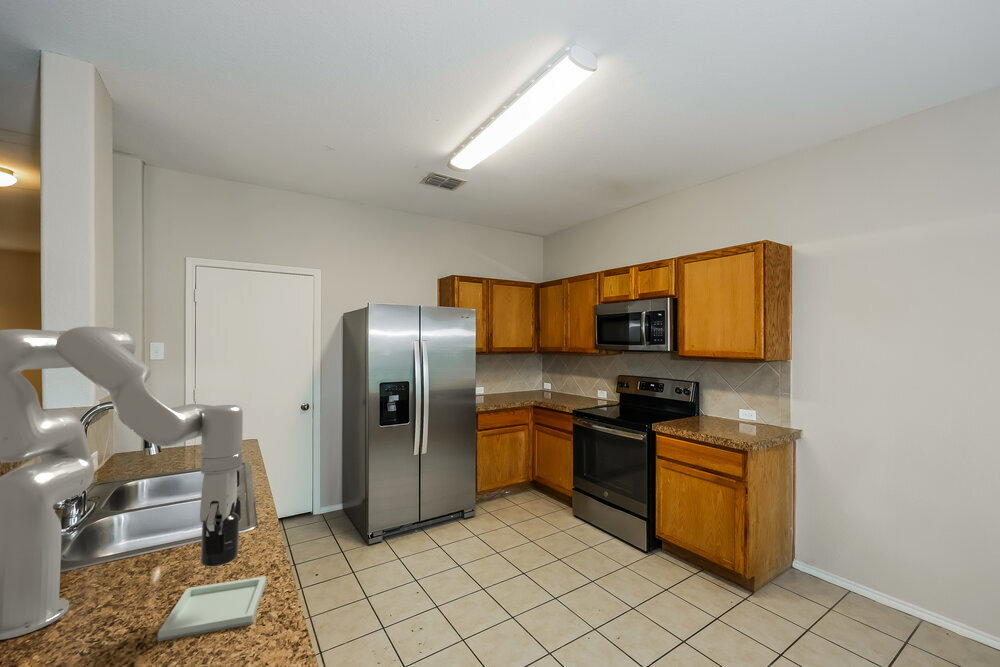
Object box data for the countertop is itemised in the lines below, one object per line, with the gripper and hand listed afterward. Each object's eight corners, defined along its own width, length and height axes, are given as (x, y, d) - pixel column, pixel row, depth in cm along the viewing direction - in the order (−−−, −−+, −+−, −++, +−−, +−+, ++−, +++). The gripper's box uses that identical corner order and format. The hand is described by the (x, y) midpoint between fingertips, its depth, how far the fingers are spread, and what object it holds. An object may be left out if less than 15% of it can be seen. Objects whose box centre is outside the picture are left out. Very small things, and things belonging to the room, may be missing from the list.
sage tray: (157, 641, 83) (158, 632, 83) (186, 596, 98) (187, 588, 98) (252, 624, 88) (252, 615, 89) (266, 583, 104) (266, 576, 104)
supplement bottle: (220, 569, 90) (221, 510, 90) (192, 565, 91) (193, 508, 91) (245, 553, 96) (246, 499, 97) (219, 550, 98) (221, 497, 98)
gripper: (213, 454, 101) (211, 531, 101) (187, 475, 85) (185, 568, 84) (249, 452, 104) (248, 527, 103) (231, 472, 87) (229, 561, 87)
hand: (220, 544), depth 94 cm, fingers closed on supplement bottle, 6 cm apart
